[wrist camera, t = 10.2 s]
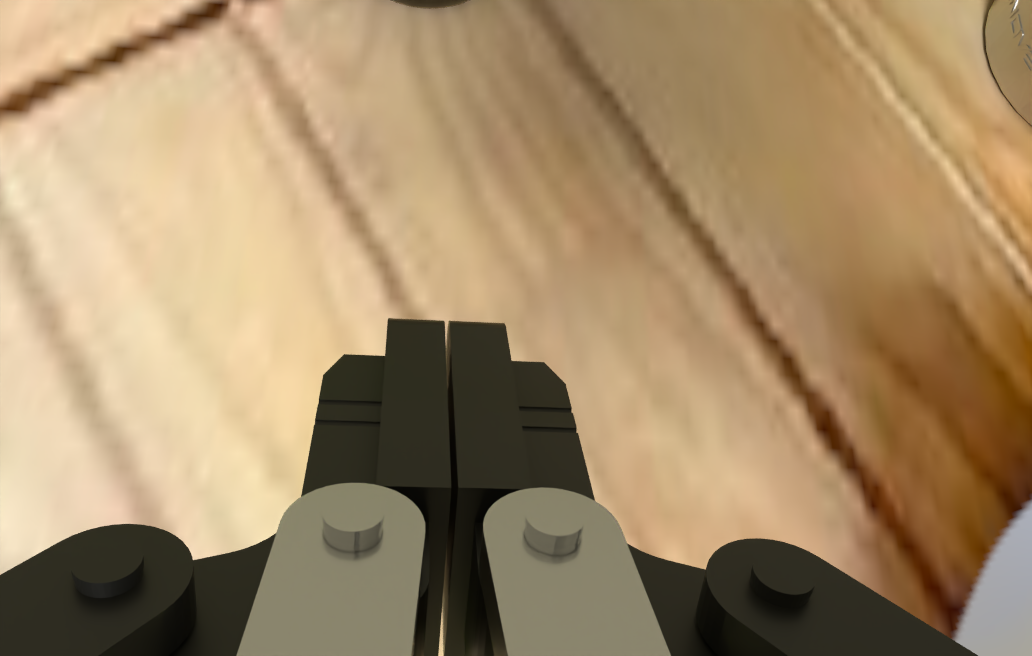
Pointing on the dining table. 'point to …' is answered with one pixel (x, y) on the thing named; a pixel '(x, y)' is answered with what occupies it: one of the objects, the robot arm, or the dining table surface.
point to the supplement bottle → (430, 3)
